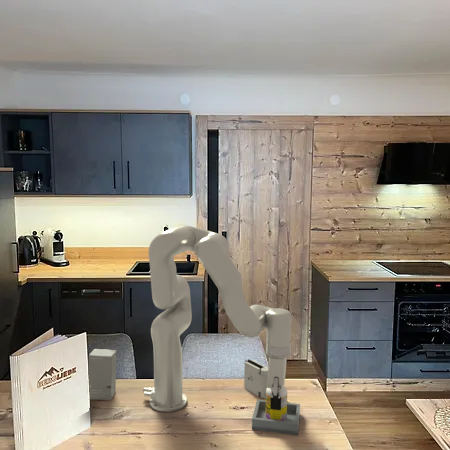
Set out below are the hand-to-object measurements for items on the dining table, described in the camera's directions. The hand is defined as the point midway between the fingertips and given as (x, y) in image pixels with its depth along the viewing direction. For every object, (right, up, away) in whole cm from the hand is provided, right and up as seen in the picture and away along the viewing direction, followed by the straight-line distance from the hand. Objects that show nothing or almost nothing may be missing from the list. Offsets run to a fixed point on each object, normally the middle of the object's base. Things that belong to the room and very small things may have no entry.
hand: (277, 401), depth 143 cm
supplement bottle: (0, -6, +1) cm, 6 cm away
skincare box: (-59, -5, +17) cm, 62 cm away
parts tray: (0, -7, +1) cm, 7 cm away
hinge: (-3, -5, +20) cm, 21 cm away
